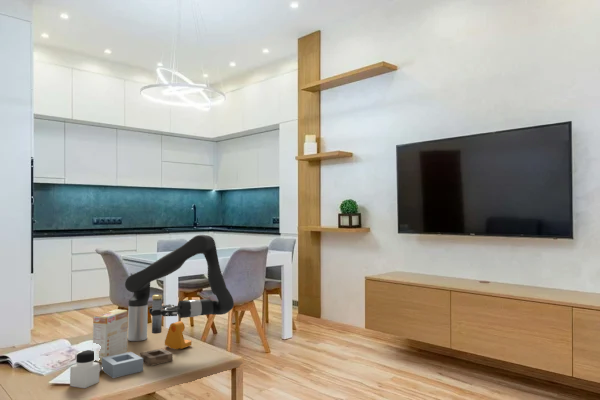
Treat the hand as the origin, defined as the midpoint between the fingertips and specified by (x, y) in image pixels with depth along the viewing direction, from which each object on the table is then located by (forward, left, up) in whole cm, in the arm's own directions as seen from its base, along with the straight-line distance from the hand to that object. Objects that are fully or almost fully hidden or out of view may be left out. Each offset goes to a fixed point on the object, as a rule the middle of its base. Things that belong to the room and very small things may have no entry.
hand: (150, 312), depth 193 cm
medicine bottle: (+9, -29, -21) cm, 37 cm away
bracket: (-11, +20, -21) cm, 31 cm away
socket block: (+1, +3, -21) cm, 21 cm away
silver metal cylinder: (+1, +3, -9) cm, 9 cm away
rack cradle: (+4, -13, -21) cm, 25 cm away
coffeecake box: (-17, -10, -21) cm, 29 cm away
